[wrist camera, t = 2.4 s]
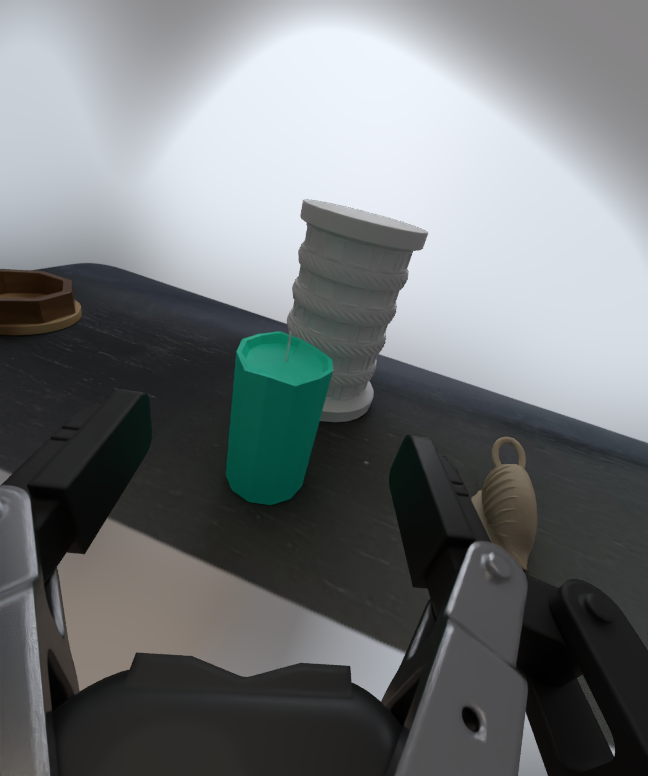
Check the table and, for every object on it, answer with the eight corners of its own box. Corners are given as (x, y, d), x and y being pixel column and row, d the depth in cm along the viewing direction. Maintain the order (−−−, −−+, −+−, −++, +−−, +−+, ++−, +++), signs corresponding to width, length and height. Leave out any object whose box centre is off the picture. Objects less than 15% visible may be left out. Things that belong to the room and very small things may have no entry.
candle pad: (-54, 337, 31) (-69, 301, 29) (-31, 296, 38) (-42, 265, 36) (82, 333, 36) (77, 303, 35) (81, 298, 43) (76, 271, 42)
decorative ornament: (468, 548, 24) (505, 500, 21) (467, 473, 31) (494, 430, 28) (526, 574, 23) (572, 528, 20) (511, 491, 30) (544, 448, 27)
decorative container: (255, 366, 39) (277, 191, 29) (338, 360, 45) (378, 213, 35) (296, 431, 31) (345, 219, 21) (390, 413, 37) (461, 241, 27)
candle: (224, 446, 27) (236, 306, 21) (296, 444, 29) (325, 317, 23) (226, 508, 22) (241, 352, 16) (311, 501, 24) (354, 360, 18)
